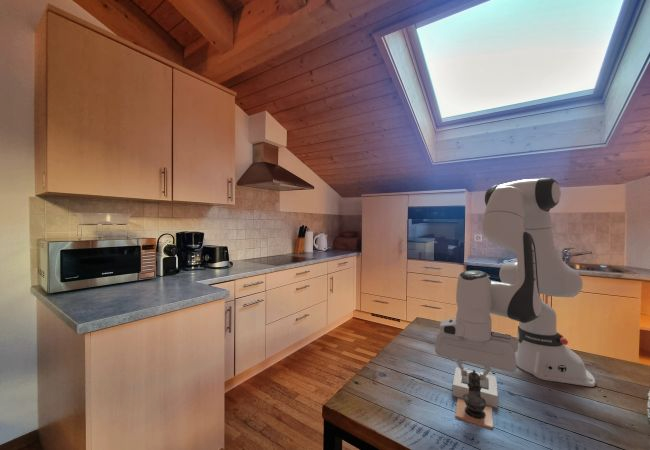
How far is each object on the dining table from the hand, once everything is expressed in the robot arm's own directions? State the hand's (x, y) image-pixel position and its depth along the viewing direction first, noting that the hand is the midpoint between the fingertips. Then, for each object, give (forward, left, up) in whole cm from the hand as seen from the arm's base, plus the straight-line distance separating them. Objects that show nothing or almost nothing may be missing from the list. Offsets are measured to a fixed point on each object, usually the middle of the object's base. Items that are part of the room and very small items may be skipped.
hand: (473, 377), depth 78 cm
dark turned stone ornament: (0, 0, -10) cm, 10 cm away
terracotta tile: (0, 0, -10) cm, 10 cm away
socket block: (0, -12, -10) cm, 16 cm away
